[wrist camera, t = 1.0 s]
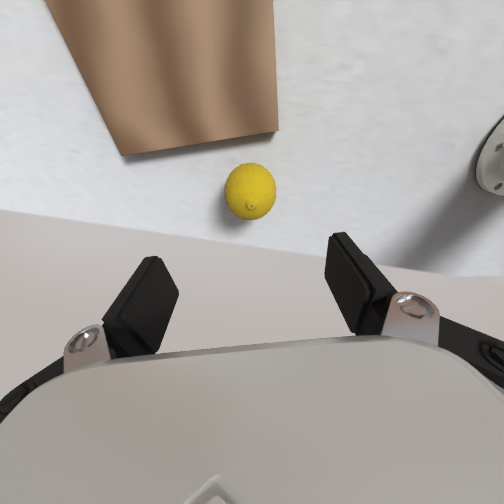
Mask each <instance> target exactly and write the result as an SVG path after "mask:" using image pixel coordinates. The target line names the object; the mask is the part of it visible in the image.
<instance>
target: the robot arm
mask: <svg viewBox="0 0 504 504" xmlns="http://www.w3.org/2000/svg"><path fill="white" fill-rule="evenodd" d="M476 179H477V181H478V184H479V185H480V186H481V187H482V188H483V189H484V190H486V191H488V192H491V193H494V194H498V195H504V119H503V120H502V121H501V123H500V124H499V125H498V126H497V127H496V129H495V130H494V131H493V133H492V134H491V136H490V137H489V138H488V140H487V142H486V144H485V145H484V147H483V149H482V151H481V154H480V156H479V159H478V162H477V167H476ZM325 279H326V281H327V283H328V286H329V287H330V290H331V292H332V294H333V296H334V298H335V300H336V302H337V304H338V306H339V309H340V311H341V313H342V315H343V317H344V319H345V321H346V323H347V325H348V327H349V329H350V331H351V332H352V333H355V335H356V336H346V337H333V338H319V339H308V340H297V341H287V342H275V343H264V344H253V345H243V346H232V347H222V348H212V349H201V350H191V351H181V352H172V353H161V354H155V352H157V351H158V350H159V348H160V345H161V342H162V339H163V337H164V334H165V331H166V329H167V326H168V323H169V321H170V318H171V315H172V312H173V310H174V307H175V304H176V301H177V299H178V296H179V291H178V289H177V287H176V285H175V283H174V281H173V279H172V277H171V276H170V274H169V272H168V270H167V268H166V266H165V264H164V262H163V261H162V259H161V258H158V257H157V256H151V257H145V258H144V259H143V261H142V262H141V264H140V265H139V266H138V268H137V269H136V271H135V272H134V274H133V275H132V277H131V278H130V279H129V281H128V282H127V284H126V285H125V286H124V288H123V289H122V291H121V292H120V294H119V295H118V297H117V298H116V299H115V301H114V302H113V304H112V305H111V307H110V308H109V309H108V311H107V312H106V314H105V315H104V317H103V318H102V321H104V324H103V325H102V326H101V325H91V326H88V327H86V328H84V329H82V330H81V331H79V332H78V333H77V334H75V335H74V336H73V337H72V338H71V339H70V340H69V342H68V343H67V345H66V346H65V349H64V356H63V357H61V358H60V359H58V360H57V361H55V362H54V363H52V364H51V365H49V366H47V367H46V368H44V369H43V370H41V371H40V372H38V373H37V374H35V375H34V376H32V377H31V378H29V379H28V380H26V381H25V382H23V383H22V384H20V385H19V386H17V387H16V388H14V390H12V391H10V392H9V393H8V394H7V395H6V396H5V397H4V398H3V399H2V400H1V401H0V504H504V342H503V341H501V340H498V339H496V338H493V337H491V336H488V335H486V334H483V333H481V332H479V331H476V330H474V329H471V328H469V327H466V326H464V325H461V324H459V323H456V322H454V321H451V320H449V319H447V318H444V317H442V316H440V314H439V310H438V308H437V307H436V305H435V304H433V303H432V302H431V301H430V300H429V299H427V298H425V297H424V296H421V295H419V294H416V293H412V292H397V291H396V289H395V288H394V287H393V286H392V285H391V283H390V282H389V281H388V280H387V279H386V278H385V276H384V275H383V274H382V273H381V272H380V270H379V269H378V268H377V267H376V266H375V265H374V263H373V262H372V261H371V260H370V259H369V257H368V256H367V255H365V254H363V253H362V251H361V250H360V249H359V248H358V247H357V245H356V244H355V243H354V242H353V241H352V239H351V238H350V237H349V236H348V235H347V233H346V232H339V233H333V235H332V236H330V237H329V241H328V249H327V257H326V266H325Z"/></svg>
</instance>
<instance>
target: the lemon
mask: <svg viewBox="0 0 504 504" xmlns="http://www.w3.org/2000/svg"><path fill="white" fill-rule="evenodd" d="M225 197H226V201H227V204H228V205H229V207H230V209H231V210H232V211H233V212H234V213H235V214H236V215H237V216H239V217H241V218H243V219H248V220H254V219H258V218H261V217H263V216H264V215H266V214H267V213H268V212H269V211H270V210H271V208H272V206H273V205H274V202H275V198H276V185H275V181H274V179H273V177H272V175H271V174H270V172H269V171H268V170H267V169H266V168H264V167H263V166H261V165H258V164H255V163H246V164H242V165H240V166H238V167H236V168H235V169H234V170H233V171H232V172H231V173H230V175H229V177H228V178H227V181H226V185H225Z"/></svg>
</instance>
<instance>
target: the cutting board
mask: <svg viewBox="0 0 504 504" xmlns="http://www.w3.org/2000/svg"><path fill="white" fill-rule="evenodd" d="M45 2H46V4H47V6H48V8H49V10H50V12H51V14H52V16H53V18H54V20H55V22H56V24H57V26H58V28H59V30H60V32H61V34H62V36H63V38H64V40H65V42H66V44H67V46H68V48H69V50H70V52H71V54H72V56H73V59H74V61H75V63H76V65H77V67H78V69H79V71H80V73H81V75H82V77H83V79H84V81H85V83H86V85H87V87H88V89H89V91H90V93H91V95H92V97H93V99H94V101H95V103H96V105H97V107H98V109H99V111H100V113H101V115H102V117H103V119H104V122H105V124H106V126H107V128H108V130H109V132H110V134H111V136H112V138H113V140H114V142H115V144H116V146H117V148H118V150H119V152H120V154H121V156H125V155H131V154H137V153H143V152H149V151H156V150H162V149H168V148H174V147H180V146H187V145H193V144H199V143H205V142H211V141H218V140H224V139H230V138H236V137H242V136H249V135H255V134H261V133H267V132H273V131H279V126H278V103H277V80H276V58H275V35H274V12H273V0H45Z"/></svg>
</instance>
